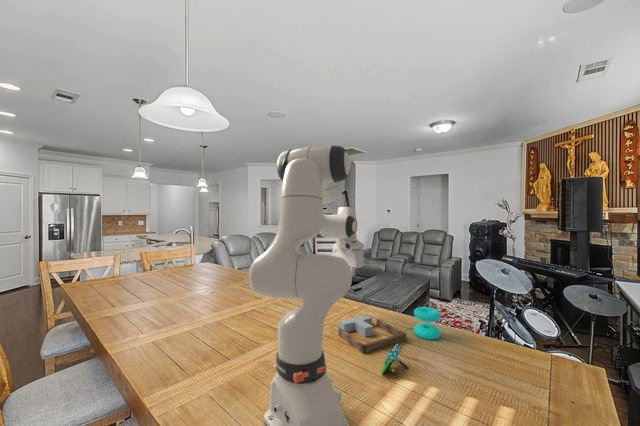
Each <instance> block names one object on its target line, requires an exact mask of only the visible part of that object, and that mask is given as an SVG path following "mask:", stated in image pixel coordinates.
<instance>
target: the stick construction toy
mask: <svg viewBox="0 0 640 426" xmlns="http://www.w3.org/2000/svg"><path fill="white" fill-rule="evenodd" d="M396 348H397V350H396ZM402 351H403V348H402V347H401V344H400V343H397V344H395V346H394V348H393V349H391V350H390V351H389V352H388V356H387V357H386V359H384V361H383V363H384V364H385V365H384V366H383V368H382V370H381V372H380V373H381V375H384V374H385V373H386V372H388V371H390V372H391V373H392V374H394V375H397V371H396V370H395V369H394V368H393V367H392V365H393V363H394V362H395V363H399V364H400V365H401V366H402V367H404V368H405V369H406V370H408V369H409V366H407V364H405V363H404V362H403V361H402V360H401V358H400V357H398V356H399V354H401V352H402ZM394 353H395V354H394ZM391 357H392V358H391Z"/></svg>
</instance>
